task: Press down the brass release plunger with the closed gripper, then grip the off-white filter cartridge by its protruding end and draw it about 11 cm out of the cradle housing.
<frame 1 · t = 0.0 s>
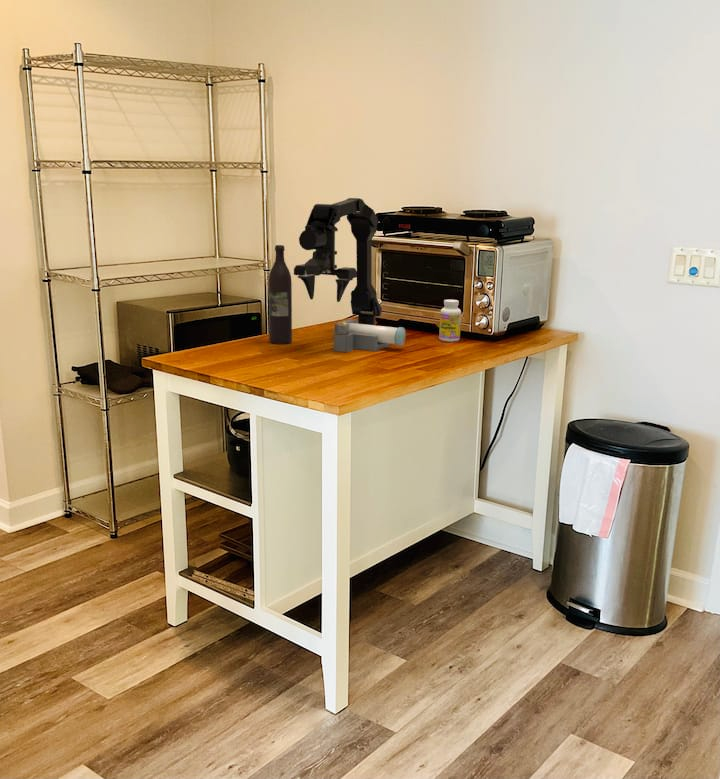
hand: (324, 300, 242), 15 cm above the worktop, fingers open, 9 cm apart
release plunger: (343, 333, 243), point 5 cm above the worktop, slide at 0.0 cm
filter cartridge: (375, 333, 247), point 4 cm above the worktop, slide at 0.0 cm
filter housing: (362, 345, 250), on the worktop
supplement bottle: (449, 340, 262), on the worktop
wine bottle: (280, 342, 254), on the worktop
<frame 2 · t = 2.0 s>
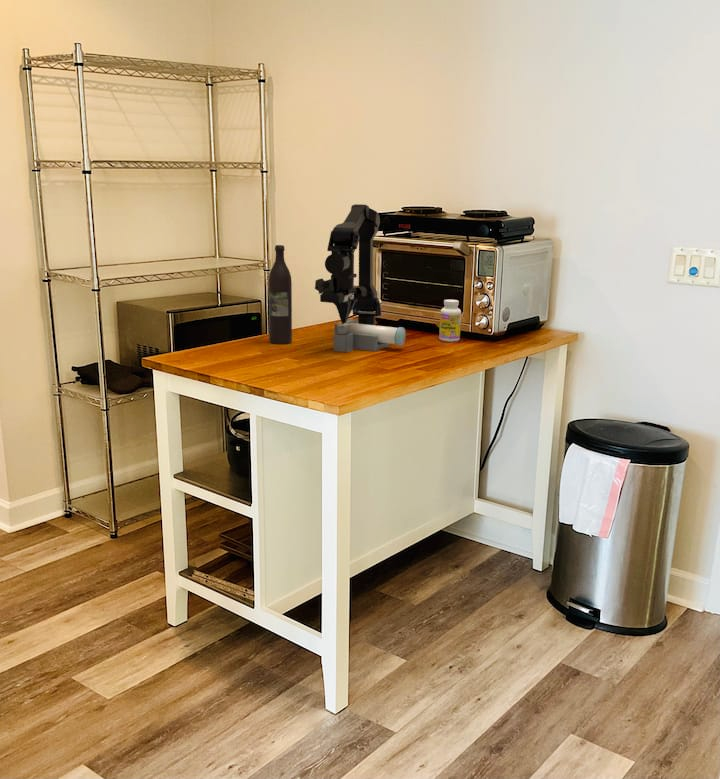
hand: (343, 322, 242), 8 cm above the worktop, fingers closed, pressing on release plunger
release plunger: (343, 333, 243), point 5 cm above the worktop, slide at 0.2 cm, touching gripper
everything else where it was.
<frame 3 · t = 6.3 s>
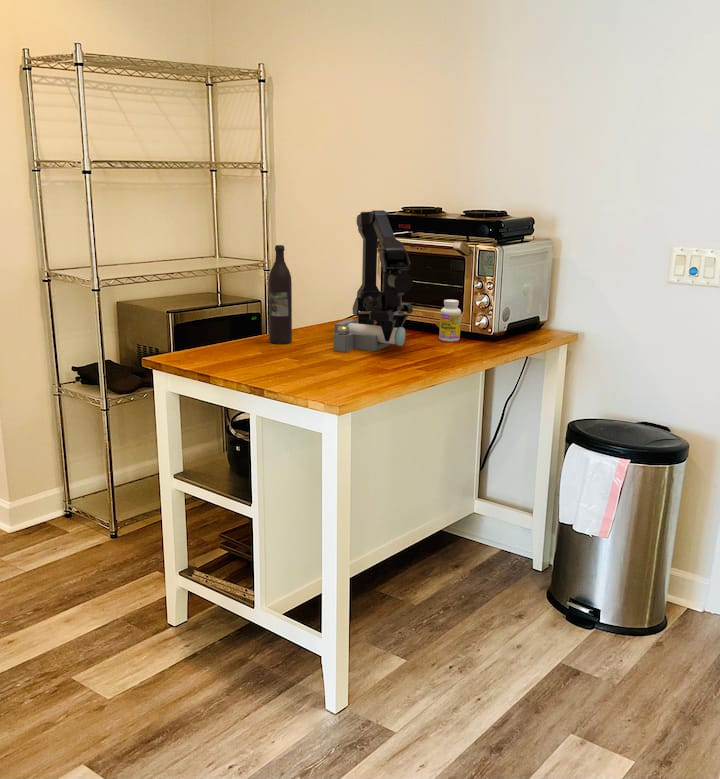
hand: (391, 339, 245), 3 cm above the worktop, fingers closed on filter cartridge, 5 cm apart
release plunger: (343, 337, 243), point 4 cm above the worktop, slide at 1.5 cm
filter cartridge: (375, 333, 247), point 4 cm above the worktop, slide at 0.0 cm, touching gripper
everything else where it was.
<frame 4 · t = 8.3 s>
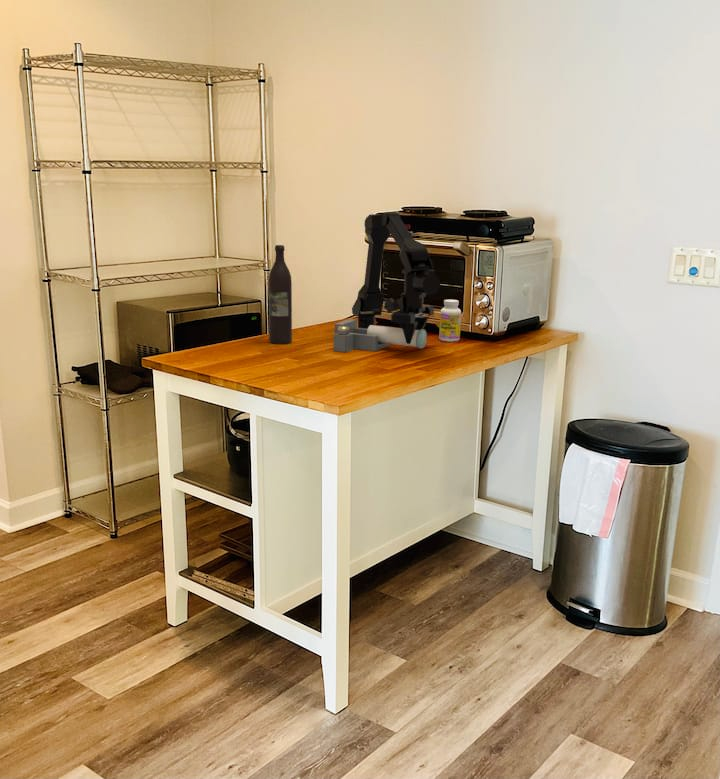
hand: (412, 342, 242), 3 cm above the worktop, fingers closed on filter cartridge, 5 cm apart
filter cartridge: (396, 336, 244), point 4 cm above the worktop, slide at 7.0 cm, touching gripper
everything else where it was.
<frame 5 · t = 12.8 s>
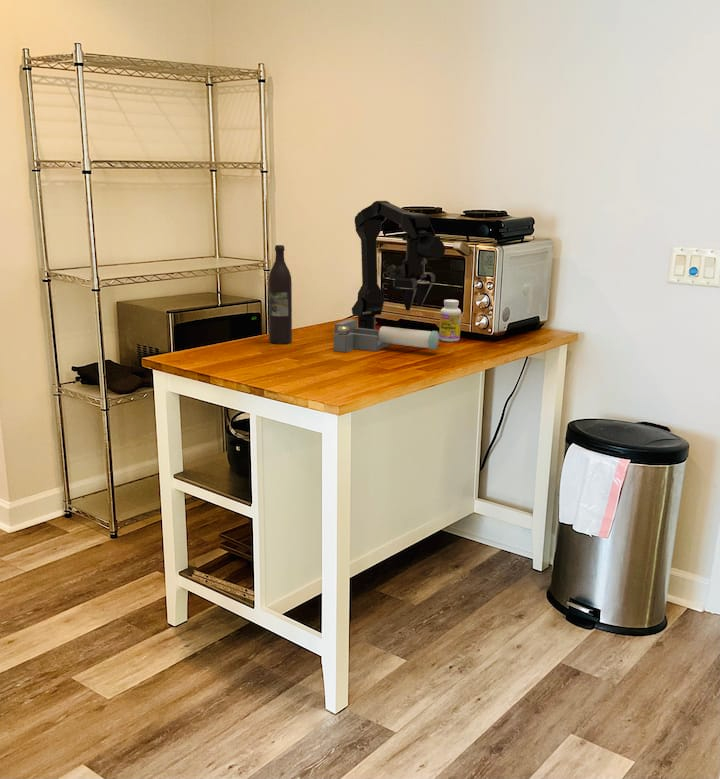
hand: (413, 308, 247), 12 cm above the worktop, fingers open, 9 cm apart
filter cartridge: (408, 337, 243), point 4 cm above the worktop, slide at 10.9 cm
everything else where it was.
at the end: release plunger slide at 1.5 cm; filter cartridge slide at 10.9 cm; the gripper is holding nothing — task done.
